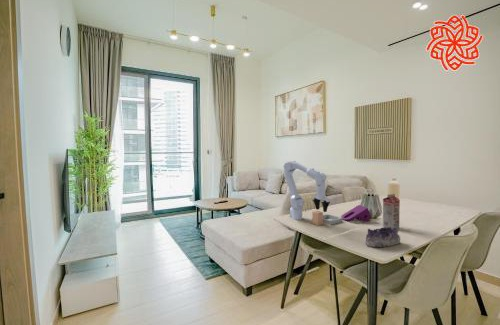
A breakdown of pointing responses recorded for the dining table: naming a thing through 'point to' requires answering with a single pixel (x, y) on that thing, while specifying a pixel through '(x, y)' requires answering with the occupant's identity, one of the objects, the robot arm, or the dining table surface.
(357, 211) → the mounting bracket
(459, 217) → the dining table surface
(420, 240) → the dining table surface
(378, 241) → the geode
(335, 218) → the bin
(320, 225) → the stud plate
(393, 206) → the juice carton
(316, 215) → the salmon brown block
